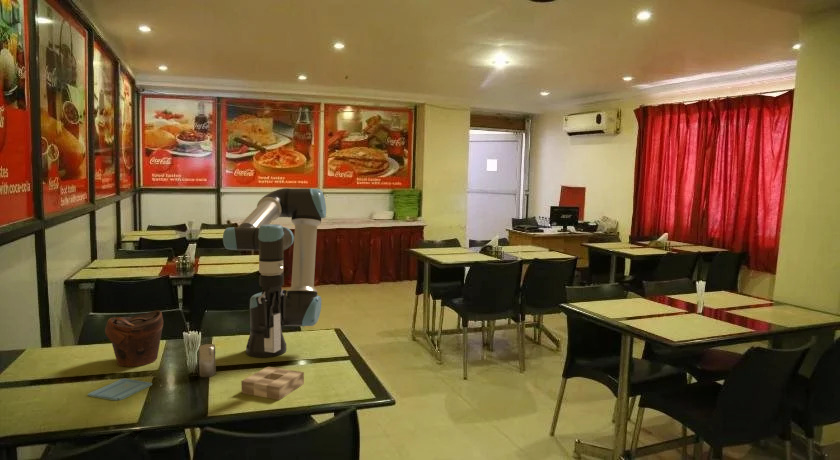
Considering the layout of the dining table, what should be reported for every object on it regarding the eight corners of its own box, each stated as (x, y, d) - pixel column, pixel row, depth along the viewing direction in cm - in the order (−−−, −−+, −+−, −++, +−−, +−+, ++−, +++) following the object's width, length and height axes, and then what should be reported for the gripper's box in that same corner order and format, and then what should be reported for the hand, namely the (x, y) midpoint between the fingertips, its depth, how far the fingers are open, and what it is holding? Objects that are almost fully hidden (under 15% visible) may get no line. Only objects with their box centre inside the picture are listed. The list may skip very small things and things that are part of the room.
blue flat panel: (118, 402, 168) (118, 398, 168) (87, 397, 171) (87, 393, 171) (152, 386, 180) (152, 382, 180) (123, 381, 184) (123, 378, 184)
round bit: (206, 371, 193) (206, 343, 192) (219, 373, 192) (218, 345, 191) (196, 376, 188) (195, 347, 187) (208, 378, 187) (207, 349, 186)
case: (93, 366, 196) (92, 317, 194) (140, 350, 215) (139, 304, 213) (131, 374, 190) (130, 323, 188) (175, 356, 208) (175, 310, 206)
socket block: (268, 377, 188) (267, 366, 187) (303, 383, 183) (303, 372, 182) (241, 393, 175) (241, 381, 174) (279, 400, 170) (279, 387, 169)
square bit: (271, 348, 179) (270, 311, 178) (280, 349, 178) (280, 312, 177) (264, 351, 176) (264, 314, 175) (274, 352, 175) (273, 315, 174)
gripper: (265, 278, 166) (266, 354, 168) (296, 270, 181) (297, 339, 184) (244, 277, 168) (246, 351, 170) (276, 268, 184) (277, 337, 186)
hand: (272, 345), depth 177 cm, fingers closed on square bit, 4 cm apart
